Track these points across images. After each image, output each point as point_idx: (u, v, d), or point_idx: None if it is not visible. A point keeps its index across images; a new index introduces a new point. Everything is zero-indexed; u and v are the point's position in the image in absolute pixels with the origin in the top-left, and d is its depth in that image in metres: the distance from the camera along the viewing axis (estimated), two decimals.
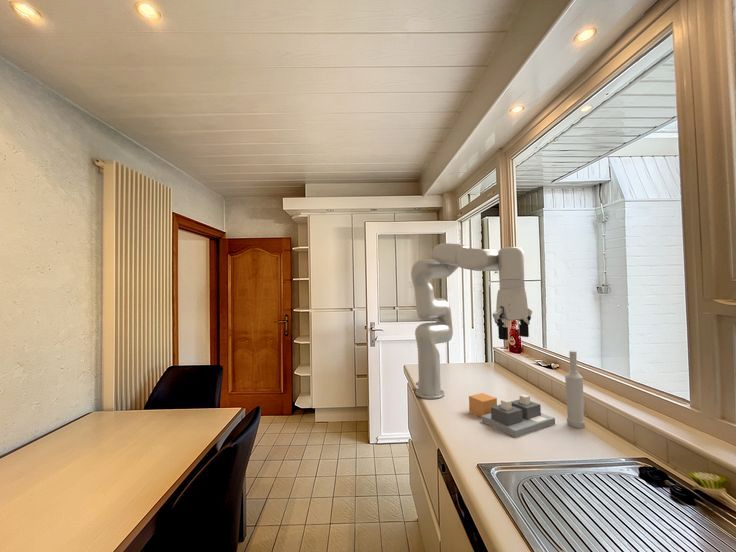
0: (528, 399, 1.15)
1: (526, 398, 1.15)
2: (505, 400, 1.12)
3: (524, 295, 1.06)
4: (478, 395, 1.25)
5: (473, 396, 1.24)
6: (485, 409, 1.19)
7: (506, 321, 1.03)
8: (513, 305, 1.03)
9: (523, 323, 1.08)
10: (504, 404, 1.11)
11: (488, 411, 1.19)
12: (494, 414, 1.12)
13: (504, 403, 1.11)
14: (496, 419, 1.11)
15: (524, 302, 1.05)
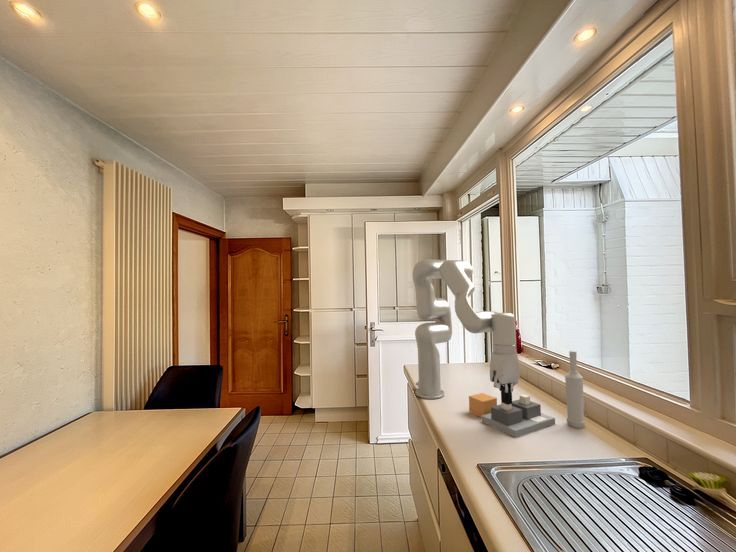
0: (528, 399, 1.15)
1: (526, 398, 1.15)
2: None
3: (516, 359, 1.11)
4: (478, 395, 1.25)
5: (473, 396, 1.24)
6: (485, 409, 1.19)
7: (506, 387, 1.10)
8: (505, 370, 1.09)
9: None
10: (505, 406, 1.11)
11: (488, 411, 1.19)
12: (494, 414, 1.12)
13: (504, 405, 1.11)
14: (496, 419, 1.11)
15: (516, 365, 1.11)
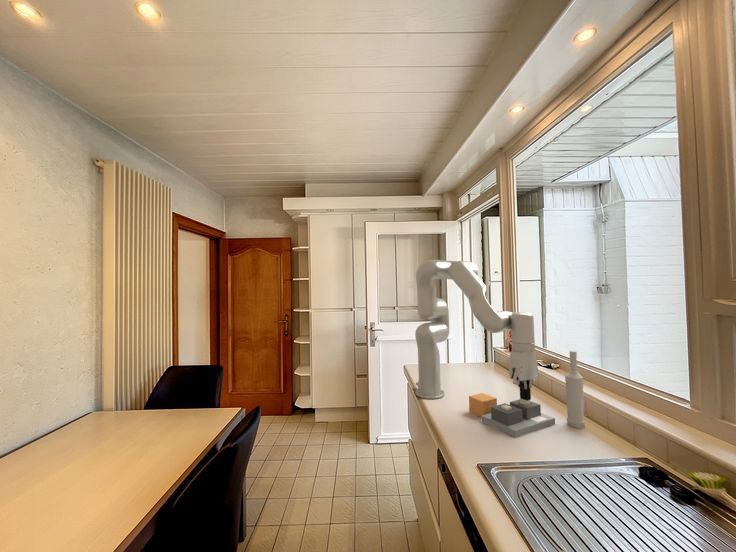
0: (528, 402, 1.15)
1: (526, 401, 1.15)
2: (505, 406, 1.12)
3: (534, 356, 1.16)
4: (478, 395, 1.25)
5: (473, 396, 1.24)
6: (485, 409, 1.19)
7: (525, 383, 1.14)
8: (525, 367, 1.13)
9: None
10: None
11: (488, 411, 1.19)
12: (494, 414, 1.12)
13: (504, 409, 1.11)
14: (496, 419, 1.11)
15: (534, 363, 1.15)
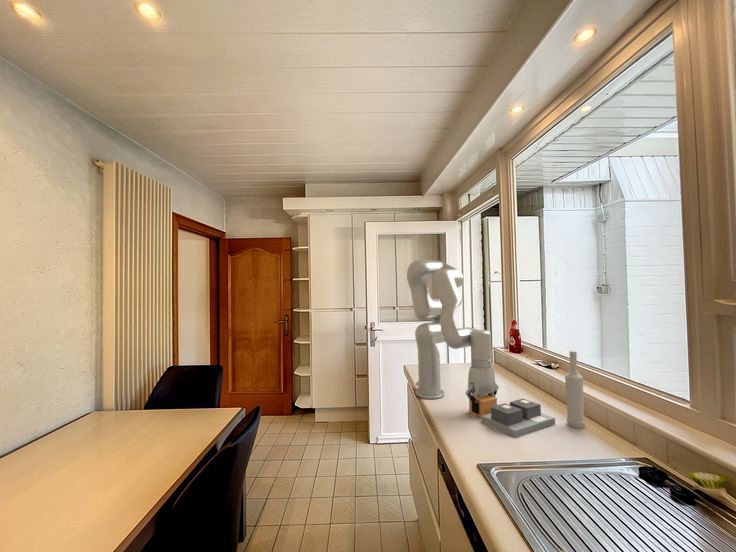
0: None
1: (526, 404, 1.15)
2: (505, 406, 1.12)
3: (492, 372, 1.23)
4: None
5: None
6: (485, 409, 1.19)
7: (477, 397, 1.20)
8: (482, 382, 1.20)
9: None
10: None
11: (488, 411, 1.19)
12: (494, 414, 1.12)
13: (504, 409, 1.11)
14: (496, 419, 1.11)
15: (492, 378, 1.22)
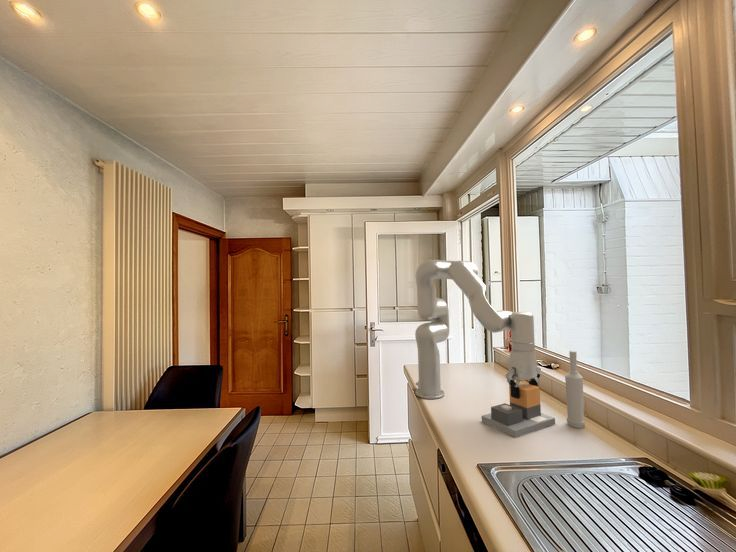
0: None
1: None
2: (505, 406, 1.12)
3: (534, 356, 1.16)
4: (519, 384, 1.18)
5: None
6: (529, 399, 1.12)
7: (518, 381, 1.13)
8: (524, 367, 1.13)
9: (533, 381, 1.18)
10: None
11: (532, 401, 1.12)
12: (494, 414, 1.12)
13: (504, 409, 1.11)
14: (496, 419, 1.11)
15: (534, 363, 1.15)
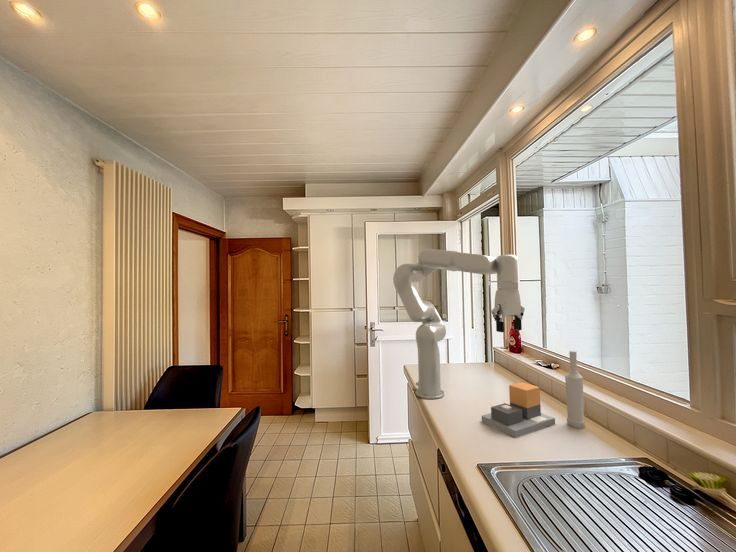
0: None
1: None
2: (505, 406, 1.12)
3: (518, 295, 1.26)
4: (519, 384, 1.18)
5: (514, 385, 1.17)
6: (529, 399, 1.12)
7: (502, 316, 1.23)
8: (508, 303, 1.23)
9: (517, 318, 1.29)
10: None
11: (532, 401, 1.12)
12: (494, 414, 1.12)
13: (504, 409, 1.11)
14: (496, 419, 1.11)
15: (518, 301, 1.26)
